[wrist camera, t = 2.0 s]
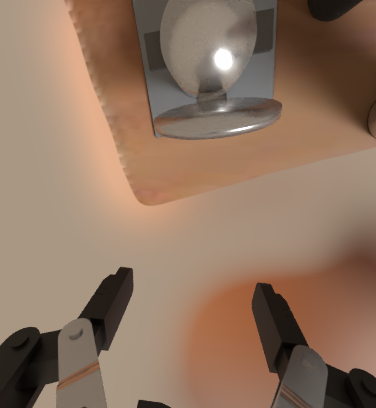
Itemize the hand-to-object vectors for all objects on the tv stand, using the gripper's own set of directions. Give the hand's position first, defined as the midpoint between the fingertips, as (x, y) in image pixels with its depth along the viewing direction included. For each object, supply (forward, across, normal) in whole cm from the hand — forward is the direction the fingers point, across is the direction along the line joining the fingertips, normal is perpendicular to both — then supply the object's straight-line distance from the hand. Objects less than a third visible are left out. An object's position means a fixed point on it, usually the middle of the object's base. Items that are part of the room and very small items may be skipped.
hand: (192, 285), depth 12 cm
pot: (+29, +1, -20) cm, 35 cm away
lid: (+13, -1, -12) cm, 18 cm away
